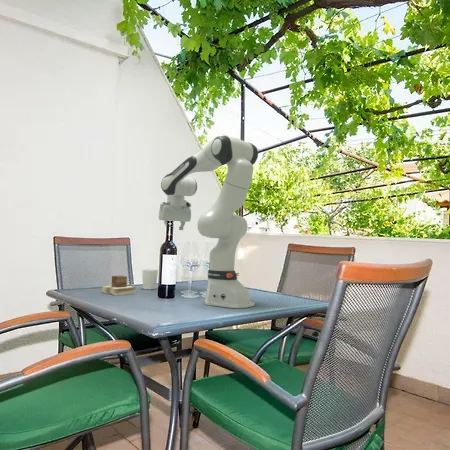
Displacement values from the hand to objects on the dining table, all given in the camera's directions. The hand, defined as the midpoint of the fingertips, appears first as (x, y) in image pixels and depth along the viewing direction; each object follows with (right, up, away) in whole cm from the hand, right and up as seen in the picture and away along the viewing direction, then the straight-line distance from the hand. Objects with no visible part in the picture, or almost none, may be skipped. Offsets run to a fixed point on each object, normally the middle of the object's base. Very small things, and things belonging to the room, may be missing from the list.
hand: (174, 229), depth 218 cm
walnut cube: (-25, -27, -16) cm, 40 cm away
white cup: (-13, -31, +2) cm, 34 cm away
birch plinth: (-25, -30, -16) cm, 42 cm away
